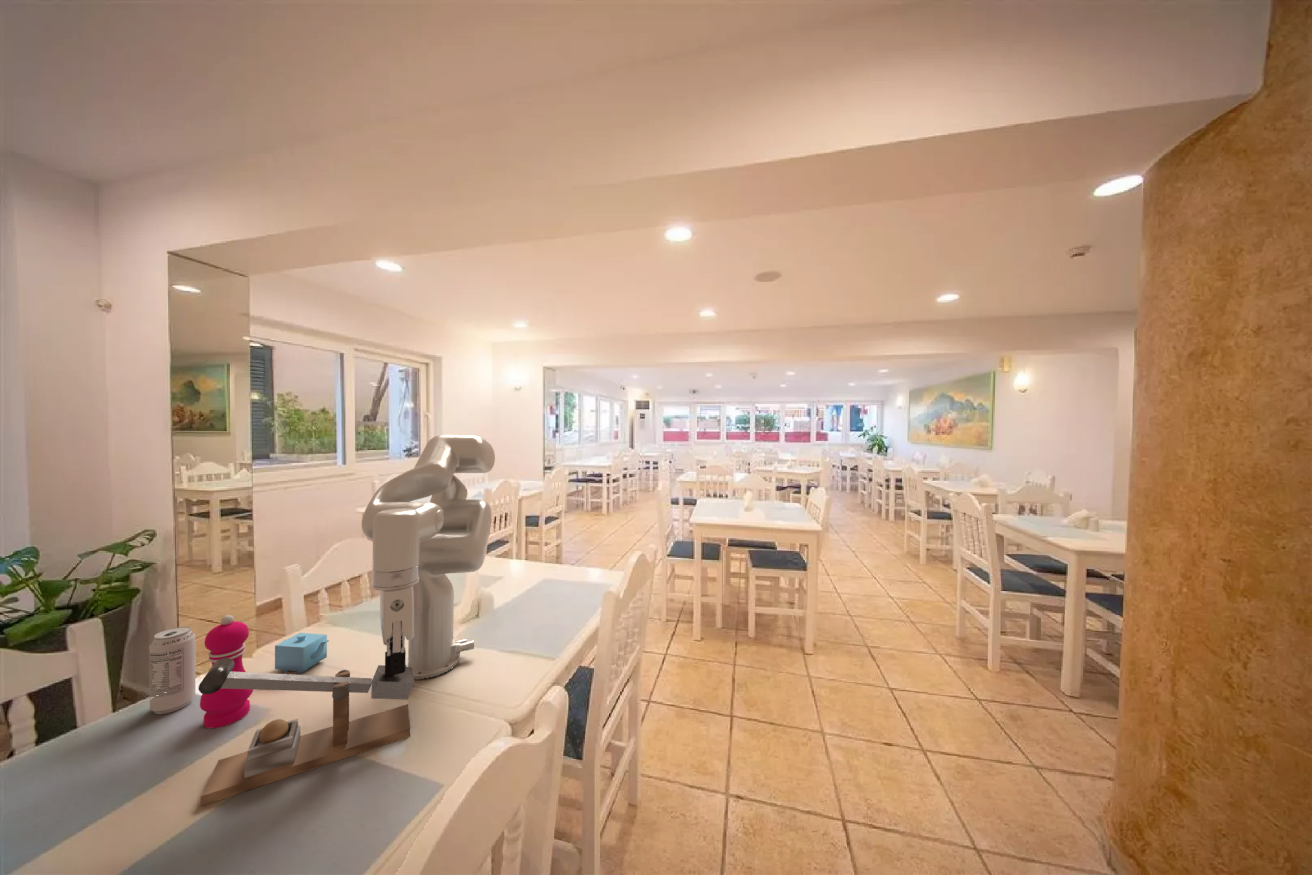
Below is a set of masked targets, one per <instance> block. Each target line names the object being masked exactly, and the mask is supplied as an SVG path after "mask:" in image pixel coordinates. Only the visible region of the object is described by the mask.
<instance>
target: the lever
mask: <svg viewBox="0 0 1312 875" xmlns="http://www.w3.org/2000/svg"><path fill="white" fill-rule="evenodd" d="M233 667H234V661H233V660H232V659H230V658H222V659H220V660H218V661H216V662H215V663H214V664H213V666H212V665H211V667H210V669H209V670H208V671H207V673H206V674H205V676H204V677H203V679H202V681H200V683H199V685H198V691H199V693H201V695H202V694H212V693H215V692H217V691H218V690H219V689H220V688H226V689H253V690H259V691H261V690H264V691H290V692H291V691H294V692H295V691H296V692H298V691H299V692H321V693H322V692H323V693H324V692H325V693H326V692H327V693H328V692H329V693H333V686H334V684H338V683H342V682H346V681H348V692H349V693H357V694H368V693H369V691H371V692H370V699H373V700H405V701H407V700H409V696H410V694H411V692H412V689H413V687H414V685H415V679H414V677H413V669H412V667H405V672H404V673H401V674H397V675H393V676H389V677H386V676H385V664H384V665H381V664H378V666H377V668H376V670H375V673H374V675H373V676H372V677H371V678H370V677H369V678H368V677H354V676H353V677H352V676H350V677H335V675H332V676H329V675H310V674H291V673H290V674H287V673H271V672H270V673H269V672H252V671H251V672H249V671H246V672H231V670H232V669H233ZM370 689H371V690H370Z"/></svg>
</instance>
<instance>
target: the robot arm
mask: <svg viewBox="0 0 1312 875" xmlns="http://www.w3.org/2000/svg"><path fill="white" fill-rule="evenodd" d="M495 462H496V454H495V451H494V448H493V446H492V445H491V443H489V441H487V439H485V438H483V437H481V436H479V435H473V434H472V435H471V434H469V435H468V434H466V435H465V434H440V435H435V436H434V437H432V438H430V439H429V440H428V441H427V443H426V444H425V446H424V448H423V450H422V453H421V454H420V456H419V457H418V460H417V462H416V464H415V465H414V467H413V468H411V469H409V470H407V471H405V472H403V473H401V474H399V475H398V476H395V477H393V478H391V479H390V480H388V481H386V482H385V483H384V484H382V485H381V486H379V488H378V489H377V490H376V491H375V493H374V494H373V496H372V497H371V499H370V500H369V501H368V504H367V506H366V508H365V511H364V512H363V515H362V517H361V518H362V519H361V530H362V533H363V535H365V537H366V538H368V539H370V540H372V571H371V572H372V578H371V582H372V583H371V587H372V589H373V590H376V591H379V614H380V615H379V616H380V617H379V618H380V628H381V629H380V630H381V636H382V642H383V645H385V646H386V651H384V665H385V676H386V677H389V676H393V675H397V674H401V673H404V672H405V667H412V669H413V677H414V680H425V679H424V678H426V679H430V678H429V677H431V678H434V677H433V676H435V677H438V676H440V674H441V675H443V674H445V673H444V672H446V671H447V672H449V671H450V670H449V669H451V668H452V667H454V666H455V665H456V664H457V663H458V664H459V662H460V660H461V652H467V651H471V650H474V649H475V642H474V640H471V641H470V640H469V641H468V639H467V638H464V639H461V640H455V637H454V605H455V604H454V601H455V591H454V590H455V589H454V586H453V583H452V582H451V580H450V579H449V578H448V576H447V575H446V574H464V573H465V574H466V573H473V572H474V573H475V572H477V571H479V570H480V569H481V568H482V567H483V565H484V561H485V559H486V554H487V553H486V552H487V547H488V543H489V537H490V531H491V526H492V509H491V505H490V504H489V503H488V502H487V501H485V500H483V499H467V498H468V489H467V487H466V486H465V484H464V483H463V482H462V481H461V480H460V479H459V478H458V477H457V476H455V475H454V474H485V473H486V474H487V473H489V472H490V471H492V469H493V467H494V466H495ZM428 497H430V500H429V501H418V500H421V499H424V498H428ZM405 640H407V641H408V642H407V643H408V644H407V645H408V646H407V648H408V649H407V650H408V651H407V652H408V653H406V647H405ZM406 654H407V655H408V656H407V657H406ZM459 659H460V660H459ZM458 661H459V662H458ZM458 664H457V665H458ZM457 665H456V666H457ZM456 666H455V667H456ZM455 667H454V668H455ZM452 669H453V668H452ZM452 669H451V670H452ZM448 670H449V671H448ZM447 672H446V673H447ZM442 673H443V674H442Z"/></svg>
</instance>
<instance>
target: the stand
mask: <svg viewBox="0 0 1312 875" xmlns="http://www.w3.org/2000/svg"><path fill="white" fill-rule="evenodd" d="M334 677H351V672H350V670H348V669H342V670H340V671H337V673H335V675H334ZM331 693H332V694H331V697H332V726H329V727H325V728H322V729H318V730H316V731H312V732H309V733H305V734H302V735H301V725H299V719H298V718H295V719H292V720H291V719H290V720H288V721H286V722H287V723H288V732H287V734H286V736H285V737H284V738H283V739H280V740H277V741H273V742H270V743H266V744H262V743H261V742H260V740H259V735H260V732H261V730H262V729H263V728H264V727H263V728H259V729H256V730H255V732H254V734H253V737H252V739H251V742H250V745H249V747H248V750H247V751H243V752H241V753H238V754H235V755H232V756H231V755H230V756H227V757H224V758H221V759H218V761H217V762H216V765H215V767H214V768H213V771H212V774H211V775H210V777H209V779H208V781H207V783H206V785H205V788H204V790H203V792H202V793H201V795H200V799H201V800H200V802H201V804H200V805H201V807H202V806H207V805H209V804H211V803H214V802H218V801H220V800H223V799H226V798H229V797H233V796H235V795H238V794H242V793H245V792H247V791H251V790H253V789H256V788H260V787H263V786H266V785H269V784H271V783H274V782H277V781H280V780H284V779H287V778H290V777H293V776H296V775H299V774H302V773H305V772H307V771H310V770H311V771H312V770H313V769H316V768H319V767H322V766H326V765H327V764H332V763H335V762H337V761H340V760H344V759H346V758H349V757H352V756H355V755H359V754H361V753H364V752H368V751H370V750H373V749H376V748H378V747H382V746H386V745H388V744H392V743H394V742H397V741H400V740H403V739H407V738H410V737H411V721H410V711H409V704H408V703H407V704H404V705H400V706H397V707H394V708H390V709H386V710H382V711H379V712H377V713H373V714H370V715H367V716H363V717H359V718H355V719H353V720H352V719H351V720H350V692H348V681H346V682H342V683H338V684H334V686H333V692H331Z"/></svg>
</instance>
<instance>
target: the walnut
mask: <svg viewBox="0 0 1312 875" xmlns="http://www.w3.org/2000/svg"><path fill="white" fill-rule="evenodd" d="M261 729H262V728H261ZM287 732H288V723H287V721H286V720H284V719H280V718H279V719H278V718H277V719H274V720H272V721H269V722H267V723H266V725H264V726H263V729H262V730H261V732H260V735H259V740H260V742H261V743H262V744H266V743H270V742H273V741H277V740H280V739H283V738H284V737H285V736H286V734H287Z"/></svg>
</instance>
